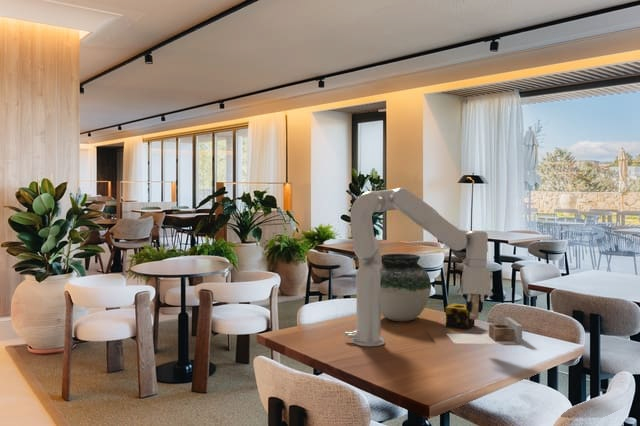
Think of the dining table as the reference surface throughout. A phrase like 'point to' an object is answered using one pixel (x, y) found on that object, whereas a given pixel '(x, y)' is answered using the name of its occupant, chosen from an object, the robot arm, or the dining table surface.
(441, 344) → the dining table surface
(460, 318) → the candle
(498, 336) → the brown square wooden frame
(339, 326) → the dining table surface
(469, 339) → the board
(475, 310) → the dowel
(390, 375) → the dining table surface
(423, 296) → the vase
